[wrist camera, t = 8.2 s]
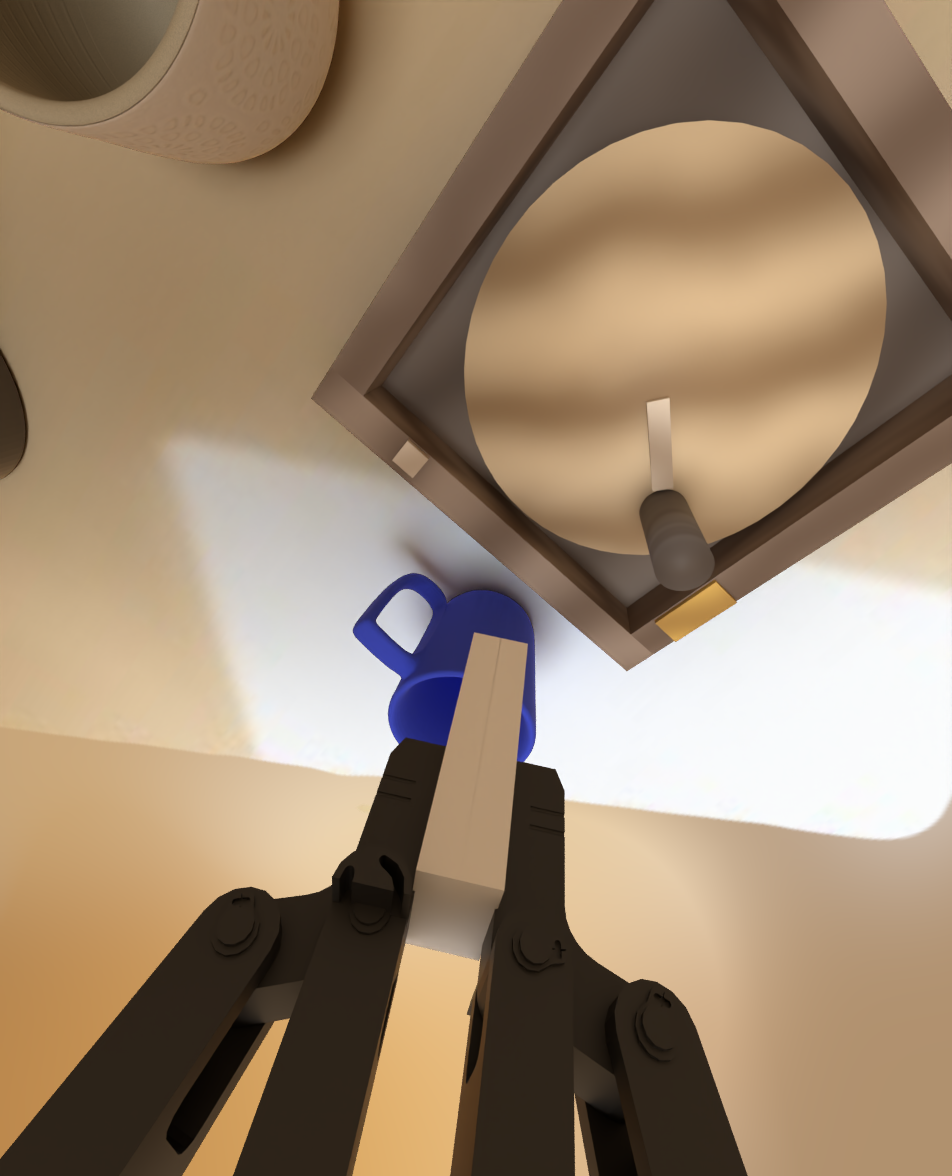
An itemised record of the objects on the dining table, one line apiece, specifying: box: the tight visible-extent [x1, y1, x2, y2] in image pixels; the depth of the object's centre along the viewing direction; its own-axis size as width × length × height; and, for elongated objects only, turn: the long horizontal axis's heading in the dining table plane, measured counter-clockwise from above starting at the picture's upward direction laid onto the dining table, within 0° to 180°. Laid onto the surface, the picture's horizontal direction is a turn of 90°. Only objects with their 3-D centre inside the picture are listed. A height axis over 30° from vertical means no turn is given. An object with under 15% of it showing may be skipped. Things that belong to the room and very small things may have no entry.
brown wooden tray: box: [311, 0, 952, 671], centre depth 24 cm, size 24×24×4 cm
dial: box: [464, 120, 887, 591], centre depth 22 cm, size 18×18×8 cm
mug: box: [353, 573, 536, 762], centre depth 31 cm, size 8×12×10 cm
